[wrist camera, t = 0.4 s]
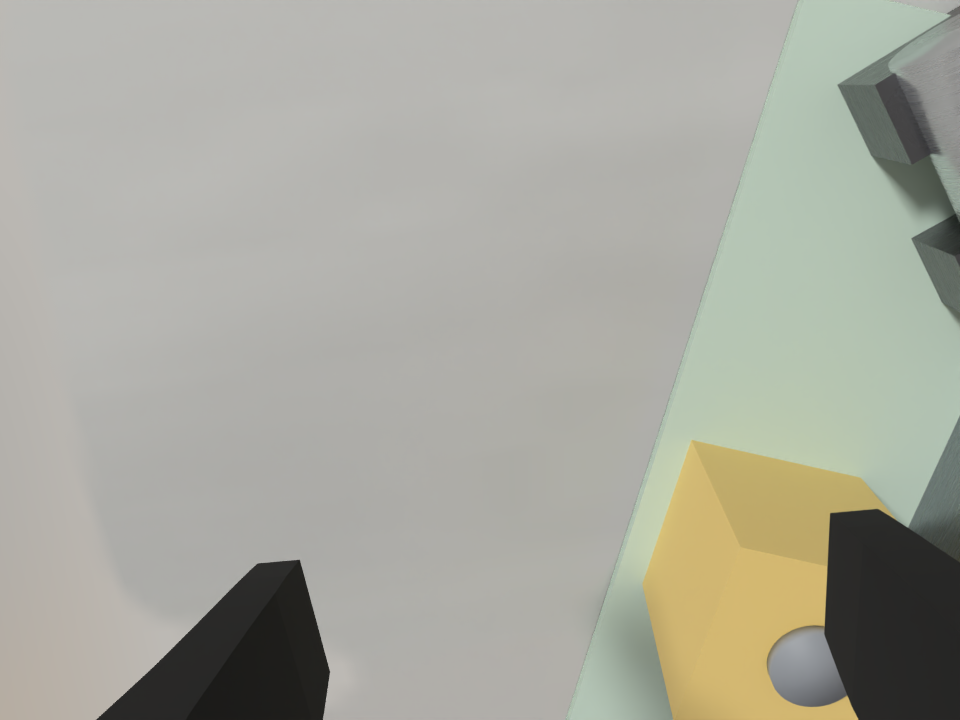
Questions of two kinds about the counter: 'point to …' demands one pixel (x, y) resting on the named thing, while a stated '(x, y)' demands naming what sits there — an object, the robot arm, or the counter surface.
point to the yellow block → (748, 587)
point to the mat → (801, 326)
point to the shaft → (919, 130)
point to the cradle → (942, 501)
